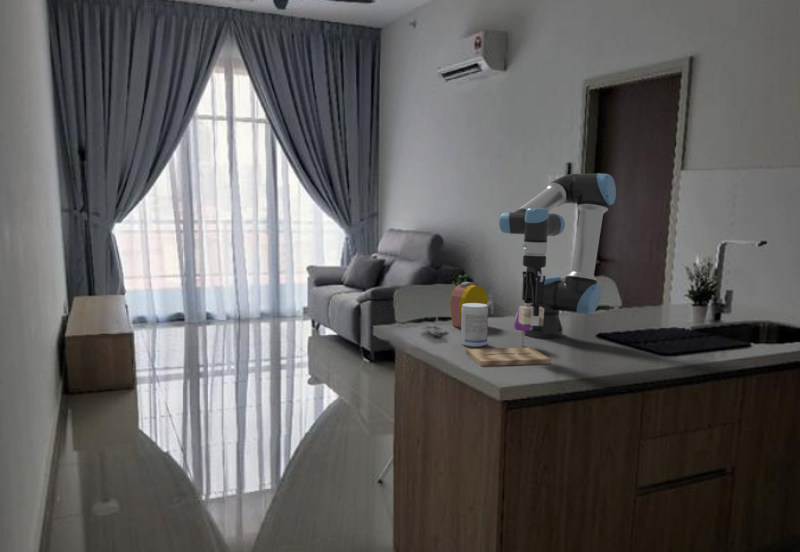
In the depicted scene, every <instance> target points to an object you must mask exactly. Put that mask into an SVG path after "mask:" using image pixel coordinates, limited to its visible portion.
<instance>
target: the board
mask: <svg viewBox="0 0 800 552" xmlns="http://www.w3.org/2000/svg"><path fill="white" fill-rule="evenodd" d="M465 349H466V348H465ZM465 354H466V355H467V356H469V358H470V359H472V360H473V361H474V362H476V363H477V364H478V365H479V366H480V367H484V366H486V367H487V366H517V365H546V364H549V365H550V364H552V358H550V357H549V356H547V355H545V354H543V353H542V352H540V351H538V350H537V349H535V348H533V347H505V348H501V347H500V348H498V347H495V348H467V349H466V350H465Z"/></svg>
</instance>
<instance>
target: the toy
mask: <svg viewBox="0 0 800 552" xmlns="http://www.w3.org/2000/svg"><path fill="white" fill-rule="evenodd" d="M514 316H515V317H514V323H513V326H514V328H513V329H514V330H517V331H521V341H520V342H521V343H520V347H521V348H525V334H524V332H525V331H530V330H532V329H533V326H522V325H520V324H518V321H519V308H518V310H517V312H516V313H515V315H514Z"/></svg>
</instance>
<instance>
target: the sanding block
mask: <svg viewBox="0 0 800 552" xmlns="http://www.w3.org/2000/svg"><path fill="white" fill-rule="evenodd" d="M518 309H519V321H518V324H520V325H522V326H531V325H530V318H531V306H525V305H519V308H518ZM543 321H544V308H542V307H540V309H539V326H543Z"/></svg>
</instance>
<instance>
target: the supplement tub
mask: <svg viewBox="0 0 800 552" xmlns="http://www.w3.org/2000/svg"><path fill="white" fill-rule="evenodd" d="M488 318H489V310H488V304H487V305H486V304H481V303H466V304H463V305H462V320H461V328H460V329H461V331H460V335H461V336H460V343H461V344H462V345H463V346H466V347H474V348H475V347H476V348H478V347H479V348H480V347H484V346H486V345H487V344H488V326H489V325H488V324H489V322H488V321H489V320H488Z"/></svg>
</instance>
